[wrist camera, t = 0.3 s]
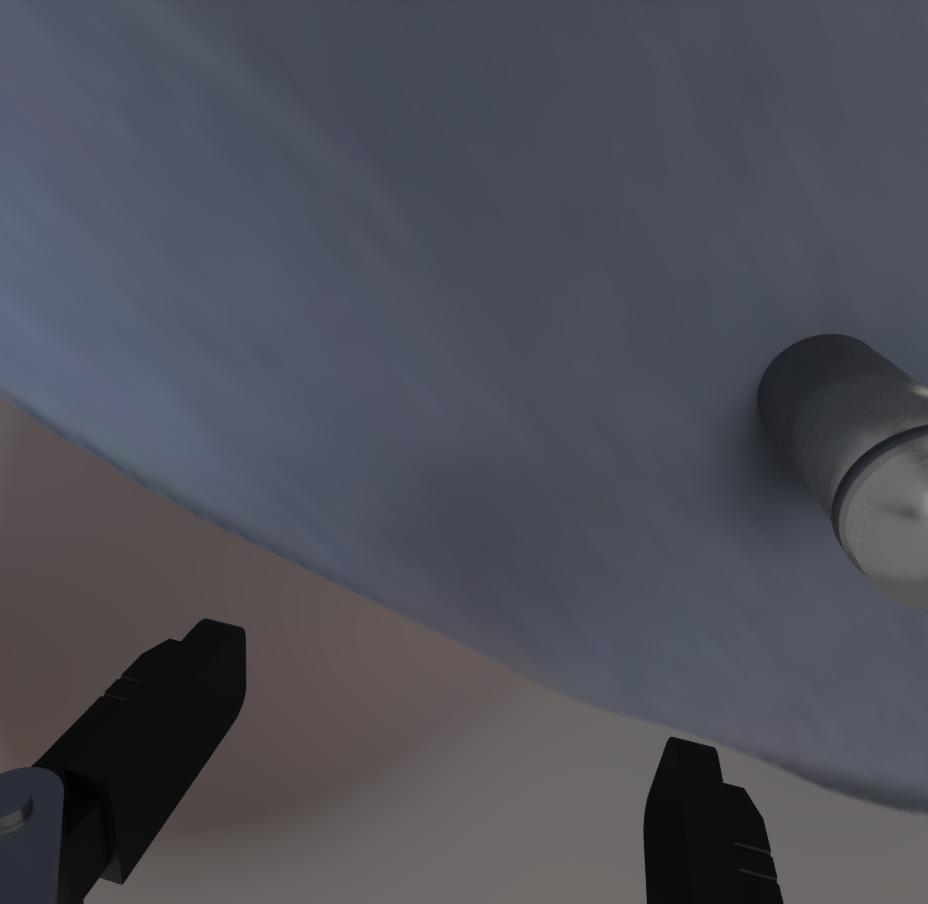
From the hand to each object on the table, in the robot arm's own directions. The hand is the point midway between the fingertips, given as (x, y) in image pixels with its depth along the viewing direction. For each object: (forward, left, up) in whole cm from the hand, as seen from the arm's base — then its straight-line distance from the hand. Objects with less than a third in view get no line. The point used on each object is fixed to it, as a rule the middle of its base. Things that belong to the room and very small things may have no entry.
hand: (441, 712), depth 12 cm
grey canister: (-6, +12, -21) cm, 25 cm away
